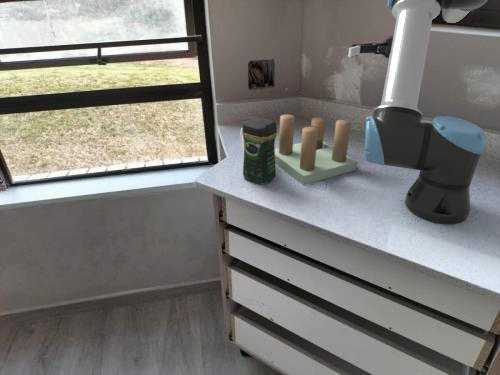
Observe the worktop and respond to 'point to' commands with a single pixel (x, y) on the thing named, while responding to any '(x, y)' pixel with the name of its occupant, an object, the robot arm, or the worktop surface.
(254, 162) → the coffee jar
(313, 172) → the upturned stool
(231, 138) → the worktop surface
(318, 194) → the worktop surface
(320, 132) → the walnut leg
